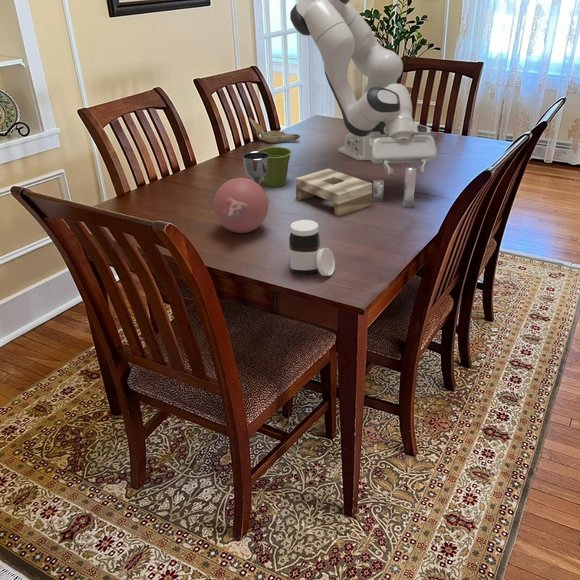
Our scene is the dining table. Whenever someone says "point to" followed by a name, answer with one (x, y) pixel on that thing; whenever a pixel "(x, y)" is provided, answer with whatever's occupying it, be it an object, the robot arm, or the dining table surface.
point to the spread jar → (309, 249)
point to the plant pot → (276, 165)
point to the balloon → (240, 205)
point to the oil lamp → (273, 134)
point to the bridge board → (336, 190)
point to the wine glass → (256, 165)
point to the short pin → (378, 190)
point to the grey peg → (409, 186)
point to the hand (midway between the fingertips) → (405, 174)
